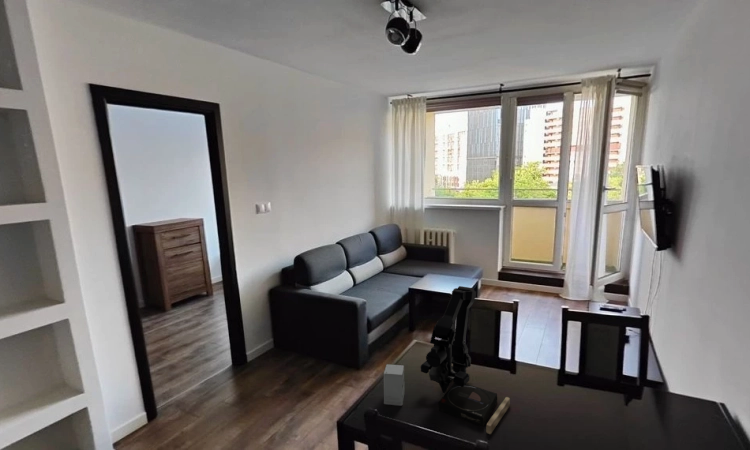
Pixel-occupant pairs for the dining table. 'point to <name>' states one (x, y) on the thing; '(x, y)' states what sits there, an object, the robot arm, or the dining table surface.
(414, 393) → the dining table surface
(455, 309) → the robot arm
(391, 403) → the supplement box
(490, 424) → the oak rail
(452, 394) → the portable cd player
